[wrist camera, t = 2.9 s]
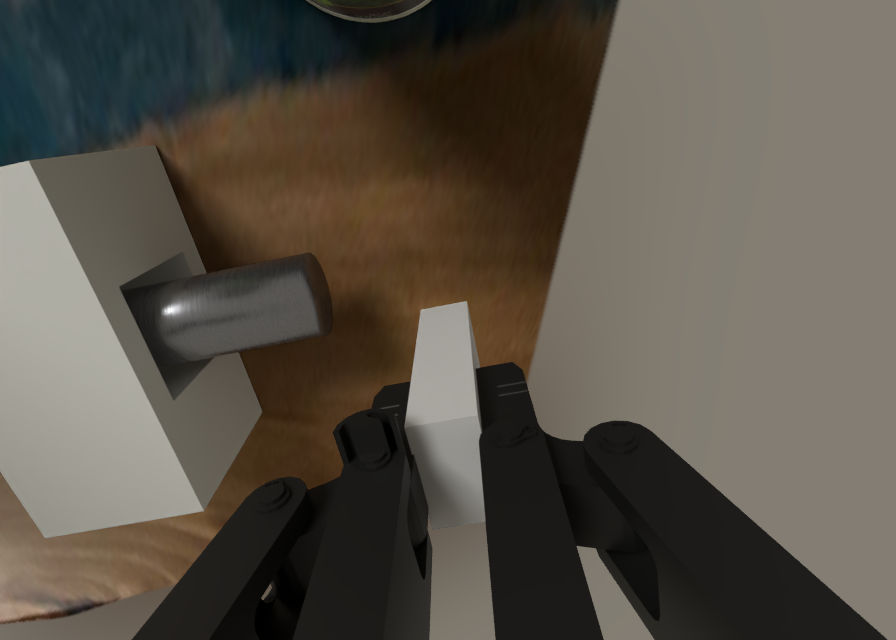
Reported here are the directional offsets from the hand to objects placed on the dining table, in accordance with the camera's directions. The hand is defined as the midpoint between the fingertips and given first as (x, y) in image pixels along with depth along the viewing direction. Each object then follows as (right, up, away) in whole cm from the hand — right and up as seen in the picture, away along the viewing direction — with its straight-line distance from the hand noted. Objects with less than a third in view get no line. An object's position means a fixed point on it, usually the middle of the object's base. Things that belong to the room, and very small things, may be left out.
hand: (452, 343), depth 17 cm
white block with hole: (-17, +2, +12) cm, 21 cm away
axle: (-14, +1, +10) cm, 18 cm away
